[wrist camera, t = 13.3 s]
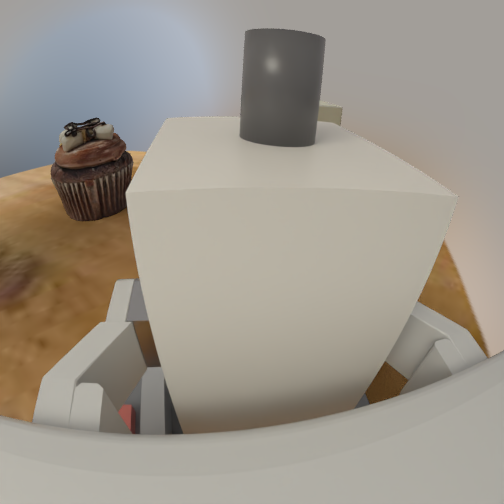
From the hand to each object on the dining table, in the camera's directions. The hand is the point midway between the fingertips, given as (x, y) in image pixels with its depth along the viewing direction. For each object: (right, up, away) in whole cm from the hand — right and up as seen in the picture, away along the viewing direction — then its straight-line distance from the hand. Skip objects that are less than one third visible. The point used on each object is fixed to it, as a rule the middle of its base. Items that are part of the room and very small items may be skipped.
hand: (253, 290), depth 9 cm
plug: (0, -5, +2) cm, 6 cm away
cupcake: (-18, +6, +23) cm, 30 cm away
